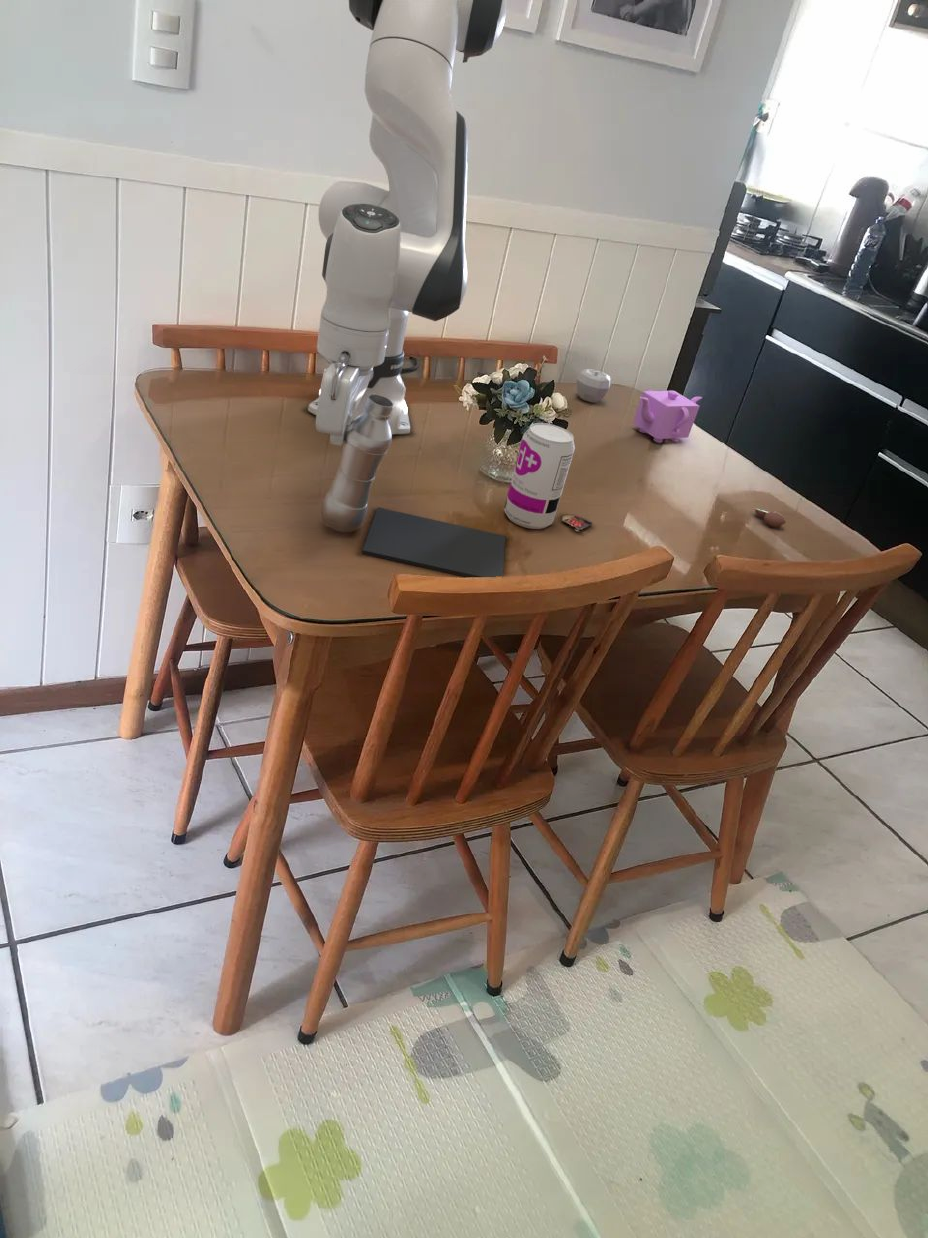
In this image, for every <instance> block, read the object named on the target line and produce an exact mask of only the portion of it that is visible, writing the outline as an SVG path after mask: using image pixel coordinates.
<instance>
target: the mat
mask: <svg viewBox="0 0 928 1238" xmlns="http://www.w3.org/2000/svg"><path fill="white" fill-rule="evenodd" d="M505 547H506V535H503V534H499V533H494V532H489V531H486V530H481V529H477V528H472V527H467V526H463V525H459V524H454V523H450V522H445V521H441V520H437V519H432V518H428V517H423V516H418V515H414V514H411V513H406V512H401V511H397V510H392V509H388V508H383V507H377V508H376V511H375V513H374V517H373V518H372V523H371V525H370V528H369V531H368V534H367V536H366V539H365V541H364V544H363V547H362V550H361V554H362V555H365V556H366V555H367V556H370V557H375V558H380V559H383V560H389V561H394V562H398V563H403V564H407V565H411V566H415V567H420V568H425V569H429V570H434V571H438V572H443V573H447V574H452V575H456V576H461V577H465V578H469V577H496V576H502V577H503V575H504V574H503V573H504V563H505V562H504V561H505Z"/></svg>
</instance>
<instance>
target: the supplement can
mask: <svg viewBox="0 0 928 1238" xmlns="http://www.w3.org/2000/svg"><path fill="white" fill-rule="evenodd" d="M574 439H575V437H574V435H573V433H571V432H570V431H569V430H567V429H565V428H564V427H561V426H558V425H555V424H551V423H546V422H534V423H531V424H530V425H529V427H528V429H527V430H526V431H525V432H524V433H523V435H522V438H521V442H520V447H519V449H518V453H517V458H516V460H515V465H514V469H513V472H512V476H511V480H510V483H509V487H508V491H507V496H506V499H505V503H504V506H503V510H504V511H503V512H504V513H505V514H506V516H507V518H508V519H509V521H511V522H512V523H514V524H515V525H518V526H520V527H523V528H527V529H531V530H541V529H545V528H547V527H549V526H550V525H552V524H553V523H554V521H555V517H556V514H557V510H558V506H559V504H560V500H561V497H562V493H563V491H564V486H565V483H566V480H567V477H568V473H569V470H570V467H571V463H572V459H573V456H574V454H575V450H576V447H575V442H574Z"/></svg>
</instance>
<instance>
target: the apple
mask: <svg viewBox="0 0 928 1238" xmlns="http://www.w3.org/2000/svg"><path fill="white" fill-rule="evenodd" d="M610 387H611V376H610V375H608V374H607V373H605V372H603V371H600V370H597V369H593V368H583V369H581V371H580V372H579V374H578V376H577V378H576V391H577V395H578V397H579V399H581V400H582V401H586V402H588V403H598V402H601V400H603V399H604V398H605V397H606V395H607V394H608V391H609V390H610Z"/></svg>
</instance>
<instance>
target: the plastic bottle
mask: <svg viewBox="0 0 928 1238" xmlns="http://www.w3.org/2000/svg"><path fill="white" fill-rule="evenodd" d="M363 409H364V412H363V413H362V414H360V415H359V416H357V417H356V418H355V419H353V420H352V421H351V422H350V424H349V425H348V427H347V429H346V433H345V439H344V442H343V444H342V445H343V446H342V451H341V456H340V460H339V464H338V467H337V470H336V473H335V476H334V477H333V480H332V482H331V484H330V487H329V489H328V491H326V494H325V496H324V498H323V500H322V502H321V506H320V516H321V520H322V521H323V522H322V523H324V524H325V525H326V526H327V527H328V528H329V529H332V530H335V531H336V532H340V533H352V532H354V531H356V530H358V529H359V528H360V527H361V526H362V525H363V523H364V521H365V520H366V517H367V511H368V505H369V499H370V494H371V490H372V488H373V483H374V482H375V481H374V480H375V479H376V476H377V473H378V471H379V469H380V466H381V464H382V463H383V461H384V459H385V457H386V455H387V453H388V451H389V450H390V447H391V446H392V443H393V442H392V440H393V435H392V434H391V430H390V426H389V424H388V421H387V419H389V418H390V417H391V411H392V409H393V402H392V401H391V400H389V399H388V398H386V397H384V396H381V395H377V394H370V395H369V396H368V398H367V401H366V404H365V405H364V408H363Z"/></svg>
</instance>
